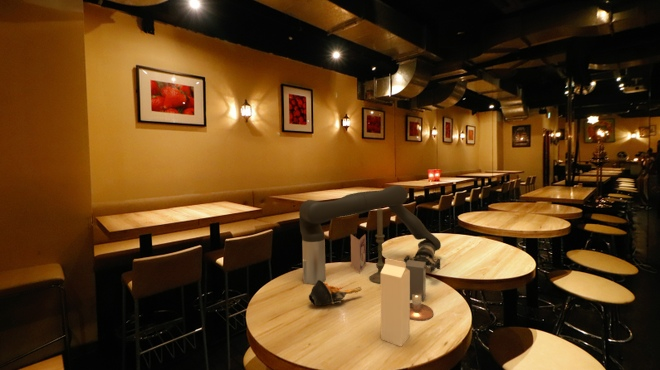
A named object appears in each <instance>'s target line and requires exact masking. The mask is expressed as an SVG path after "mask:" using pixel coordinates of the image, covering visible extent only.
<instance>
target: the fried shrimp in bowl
mask: <svg viewBox="0 0 660 370" xmlns="http://www.w3.org/2000/svg"><path fill="white" fill-rule="evenodd" d="M341 289H343V287H342V286H339V287H337V286H333V285H329V284H328V283H327V282H322V281H320V280H318V281H317V283H316V284H313V287H312V288H311V292H310V293H309V295H308V299H309V301H310V303H311V304H312V305H313V306H314V307H315V306H327V305H328V304H329V305H339V304H340V303H342V300H344V298H345V297H346V295H347V294H350V295H351V294H353V293H356V294H357V293H358V292H361V291H362V289H363V288H362V287H361V286H360V287H359V286H358V287H354V288H350V289H346V290H341Z"/></svg>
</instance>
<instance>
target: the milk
mask: <svg viewBox="0 0 660 370" xmlns="http://www.w3.org/2000/svg"><path fill="white" fill-rule="evenodd" d="M380 275H381V284H380V339H381V340H382V341H385V342H388V343H391V344H393V345H395V346H398V347H403V345H404V344H405V343H406V342H407V341H408V339H409V338H410V336H411V335H410V334H411V331H410V330H411V326H410V325H411V324H410V323H411V319H410V303H411V302H410V270H408V269H407V268H406V263H405V262H404V261H403V260H401V261H400V260H396V259H392V258H391V259H390V258H385V259H384V267H383V269H382V271H381V273H380Z"/></svg>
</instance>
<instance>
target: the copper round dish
mask: <svg viewBox="0 0 660 370" xmlns="http://www.w3.org/2000/svg"><path fill="white" fill-rule="evenodd" d="M433 317H434V310H433V309H432V308H431V307H430V306H429V305H426V304H424V303H422V301H421V294H419V293H413V294H412V301H411V302H410V320H413V321H418V322H420V321H421V322H423V321H428V320H431V319H432V318H433Z"/></svg>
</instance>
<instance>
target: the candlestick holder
mask: <svg viewBox="0 0 660 370" xmlns="http://www.w3.org/2000/svg"><path fill="white" fill-rule="evenodd" d="M383 221H384V220H383V209H382V208H377V209H376V224H377V225H376V227H377V228H376V230H377V231H376V234H375V236H374V237H375V238H376V239H375V242H376V243H377V244H378V245H377V251H378V252H377V253H378V254H377V255H378V256H377V257H378V260H377V262H376V264H375V267H376V268H377V272H374V273H373V274H371V275H370V276H369V277H368V278H369V281H370V282H372V283H374V284H377V285H378V284H380V285H381V275H380V273H381V271H382V269H383V267H384V265H385V262H383V243H384V242H385V239H384V238H385V234H383V232H384V231H383V230H384V228H383V227H384V226H383V225H384V224H383Z"/></svg>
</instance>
